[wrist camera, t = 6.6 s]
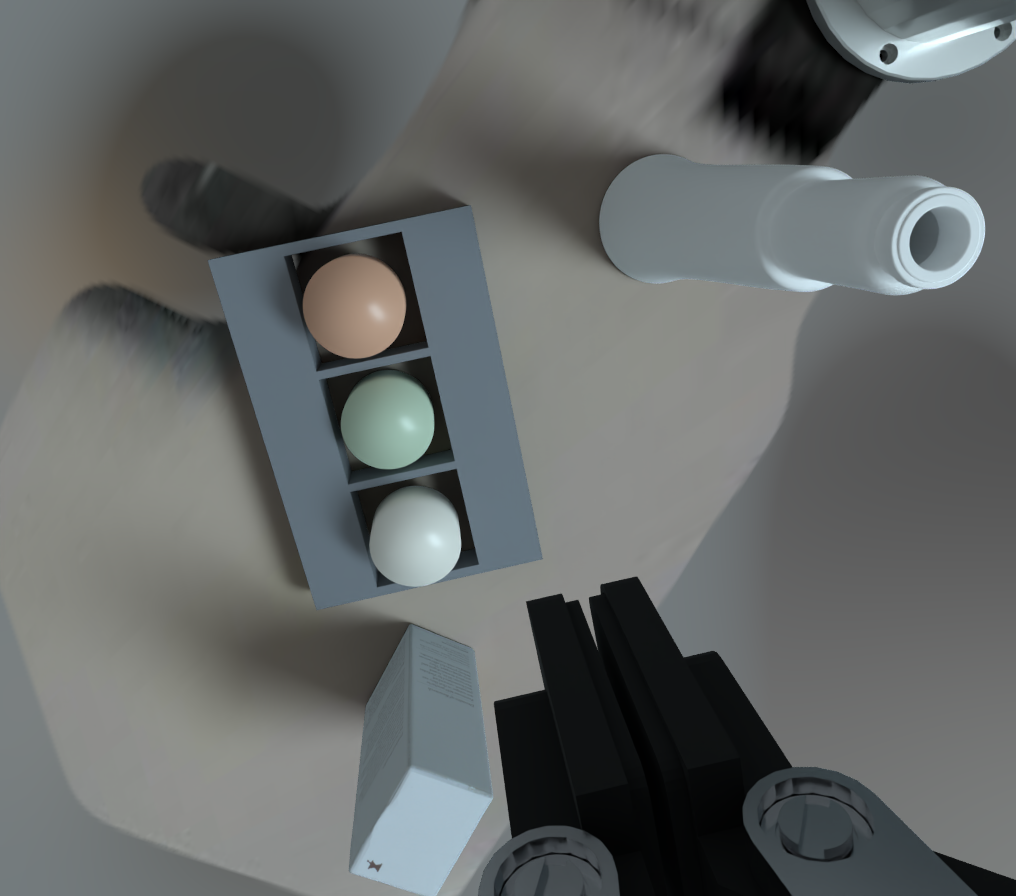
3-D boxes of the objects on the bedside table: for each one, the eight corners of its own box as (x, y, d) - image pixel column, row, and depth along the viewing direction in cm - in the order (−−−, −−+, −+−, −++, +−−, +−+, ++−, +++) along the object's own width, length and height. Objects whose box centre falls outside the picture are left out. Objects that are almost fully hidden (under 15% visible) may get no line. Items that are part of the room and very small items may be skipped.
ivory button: (448, 477, 39) (450, 494, 37) (467, 554, 41) (469, 575, 38) (363, 496, 39) (359, 514, 37) (384, 573, 41) (382, 595, 38)
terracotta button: (393, 244, 36) (391, 247, 33) (415, 338, 37) (415, 346, 35) (299, 264, 36) (290, 268, 33) (324, 357, 37) (318, 367, 35)
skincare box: (431, 729, 46) (433, 904, 34) (364, 704, 45) (343, 876, 33) (478, 646, 44) (497, 799, 33) (410, 618, 43) (404, 766, 32)
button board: (468, 205, 37) (470, 205, 35) (537, 543, 43) (542, 558, 41) (219, 257, 37) (207, 260, 35) (321, 591, 42) (316, 610, 40)
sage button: (422, 361, 39) (422, 371, 37) (442, 443, 40) (443, 458, 38) (335, 380, 39) (330, 391, 36) (358, 462, 40) (354, 477, 38)
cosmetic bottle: (666, 126, 37) (980, 23, 16) (743, 222, 39) (1116, 243, 18) (572, 217, 38) (754, 233, 17) (651, 308, 39) (905, 424, 19)
